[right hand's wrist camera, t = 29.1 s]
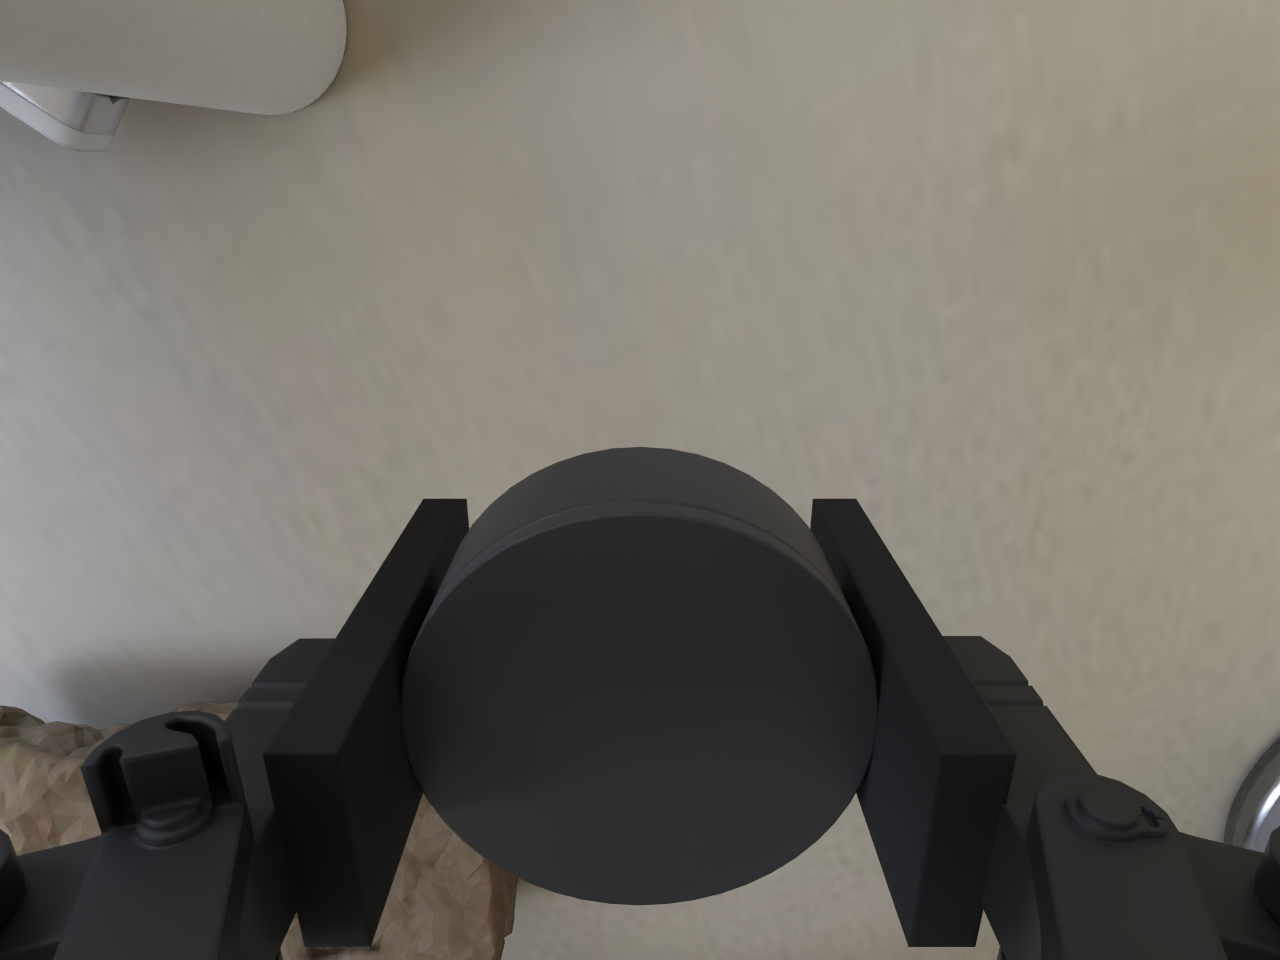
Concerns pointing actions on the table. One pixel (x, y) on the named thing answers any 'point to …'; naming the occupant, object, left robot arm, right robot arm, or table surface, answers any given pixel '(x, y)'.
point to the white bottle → (178, 49)
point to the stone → (402, 946)
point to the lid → (639, 682)
